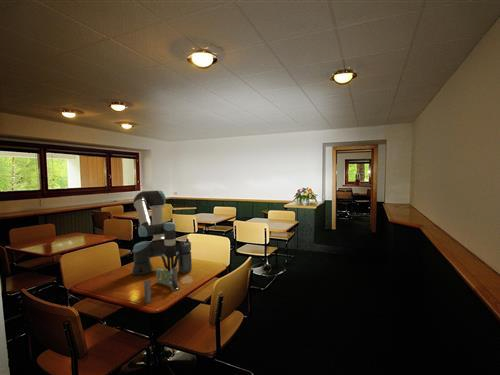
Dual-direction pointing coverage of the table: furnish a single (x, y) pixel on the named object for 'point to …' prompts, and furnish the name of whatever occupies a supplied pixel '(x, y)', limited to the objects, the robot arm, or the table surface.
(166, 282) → the gate
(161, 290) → the table surface
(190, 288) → the table surface
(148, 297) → the post
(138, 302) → the table surface
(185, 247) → the beverage bottle
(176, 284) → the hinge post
